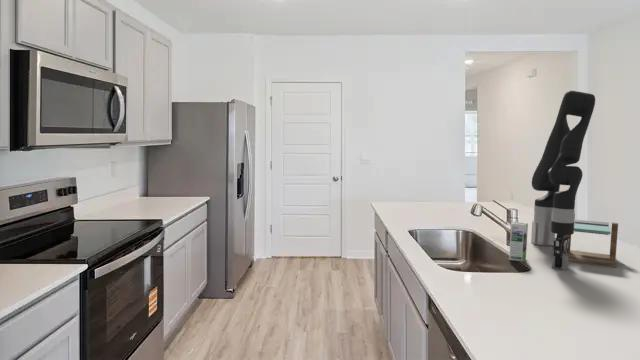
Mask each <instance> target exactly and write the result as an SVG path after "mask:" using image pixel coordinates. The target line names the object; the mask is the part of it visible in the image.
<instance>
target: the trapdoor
mask: <svg viewBox="0 0 640 360" xmlns="http://www.w3.org/2000/svg"><path fill="white" fill-rule="evenodd" d="M611 230H612V229H611V226H610V222H605V221H596V220H595V221H593V220H583V219H575V222H574V233H575V232H578V233H585V234H596V235H597V234H598V235H605V236H606V235H607V236H609V235H611Z"/></svg>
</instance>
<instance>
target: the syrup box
mask: <svg viewBox="0 0 640 360" xmlns="http://www.w3.org/2000/svg"><path fill="white" fill-rule="evenodd" d="M528 226H529V223H528V222H520V221H518V222H517V221H512V222H511V224H510V243H509V246H510V247H509V257H508V259H509V261H517V262H526V260H527V250H528V249H527V247H528V230H529V228H528Z"/></svg>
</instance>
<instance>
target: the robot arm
mask: <svg viewBox="0 0 640 360" xmlns="http://www.w3.org/2000/svg"><path fill="white" fill-rule="evenodd" d="M595 105H596V96H595V95H594V94H592V93H589V92H584V91H578V90H567V91H566V92H565V93H564V95H563V97H562V100H561V103H560V106H559V110H558V113H557V116H556V119H555V122H554V125H553V127H552V130H551V132H550V134H549V137H548V139H547V141H546V143H545V144H546V145H545V147H544V151H543V153H542V156H541V158H540V161H539V163H538V165H537V166H536V168H535V171H534V173H533V174H532V178H531V186H532V189H533V190H535V191H538V192H547V193H546V194H545V195H544V196H542V197H537V198H536V199H535V200H534V206H533V207H534V209H533V221H532V222H531V235H530V236H531V238H530V239H531V240H530V242H531V243H532V244H534V245H539V246H549V247H551V246H553V252H554V254H553V253H552V254H553V255H554V256H555V267H557V268H556V269H558V268H561V267H562V257H563V253H567V252H568V245H569V236H567V235H571V236H572V235H574V233H575V231H574V223H575V220H576V219H575V217H576V214H575V210H576V209H575V208H576V207H575V205H576V204H575V203H576V198H577V197H576V196H577V193H578V189H579V187H580V184H581V182H582V179H583V170H582V169H581V168H580V167H579V166H577V165H574V164H577V163H579V161H580V159H581V153H582V150H583V149H582V148H583V143H584V139H585V136H586V134H587V130H588V128H589V125H590V123H591V119H592V116H593V112H594V109H595ZM567 116H574V117H580V121H578V123H577V124H576V125H575V126H574V127H573V128H572V129H570V127H569V123H568V118H567ZM561 186H569V188H567V190H561V191H560V189H561ZM557 252H560V253H557Z"/></svg>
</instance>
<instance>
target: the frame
mask: <svg viewBox="0 0 640 360" xmlns="http://www.w3.org/2000/svg"><path fill="white" fill-rule="evenodd" d="M618 228H619V223H618V222H611V229H610V230H611V234H610V244H609V245H610V247H609V254H607V253H601V252H599V253H598V252H590V251H589V252H588V251H581V250H574V249H571V245H572V235H567V236H569V245H568V252H567V253H569V258H568V263H569V262H570V263H578V264H585V265H591V266H592V265H593V266H601V267H607V268H616V269H617V259H616V257H617V245H618V233H619V232H618Z"/></svg>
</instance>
